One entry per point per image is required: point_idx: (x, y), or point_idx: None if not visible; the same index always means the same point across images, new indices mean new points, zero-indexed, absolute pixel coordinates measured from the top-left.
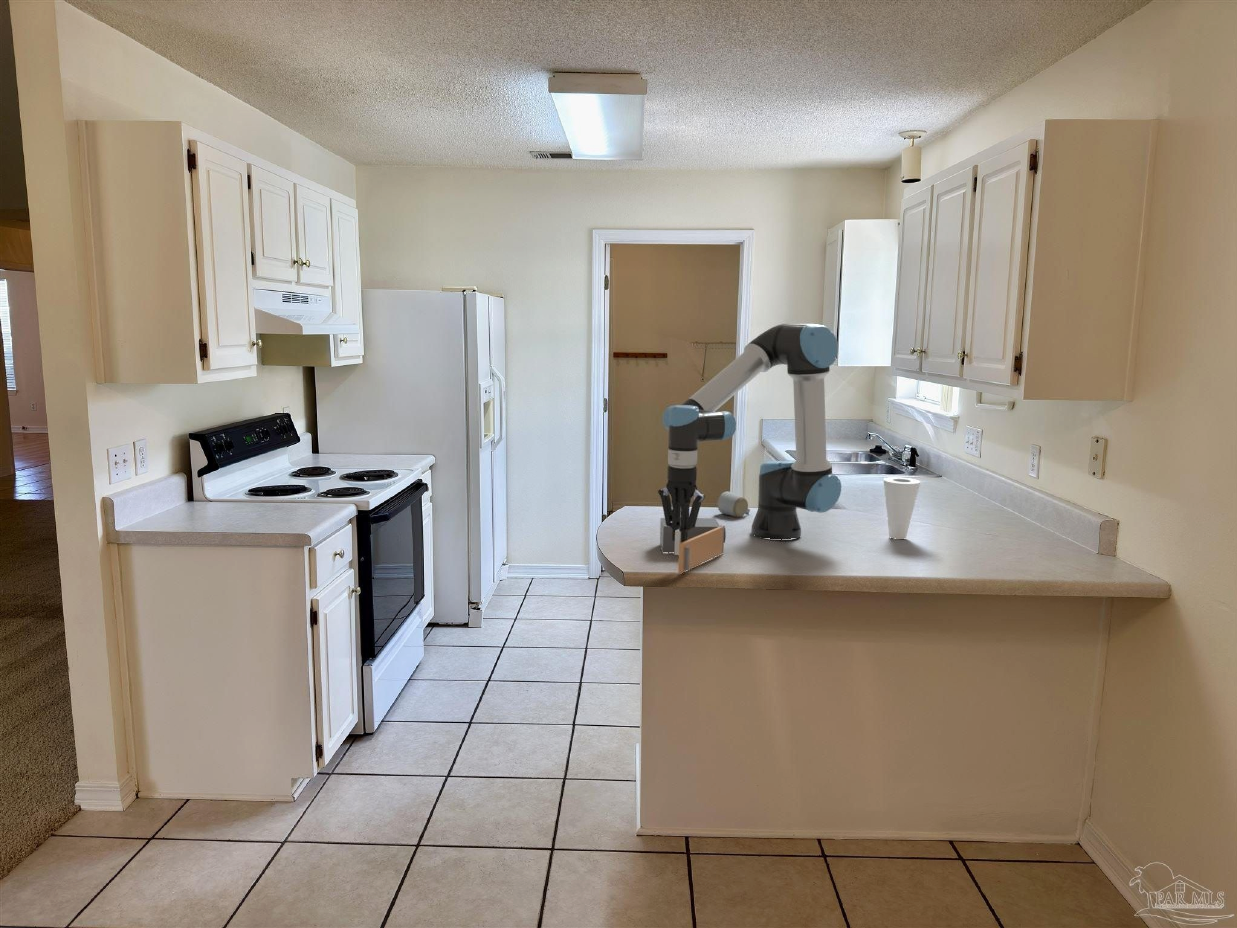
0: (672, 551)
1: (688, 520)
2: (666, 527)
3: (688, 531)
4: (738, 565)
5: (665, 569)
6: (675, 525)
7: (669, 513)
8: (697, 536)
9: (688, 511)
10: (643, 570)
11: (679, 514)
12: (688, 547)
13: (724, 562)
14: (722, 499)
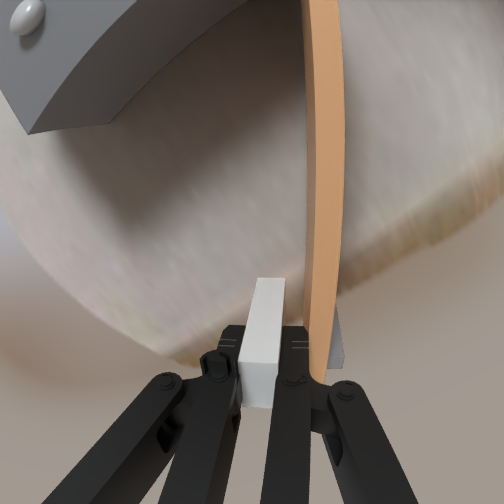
0: (129, 95)
1: (337, 472)
2: (39, 122)
3: (133, 26)
4: (440, 72)
5: (232, 283)
6: (236, 428)
7: (153, 465)
8: (322, 225)
9: (307, 499)
10: (185, 327)
11: (219, 461)
12: (342, 363)
13: (378, 59)
14: None
